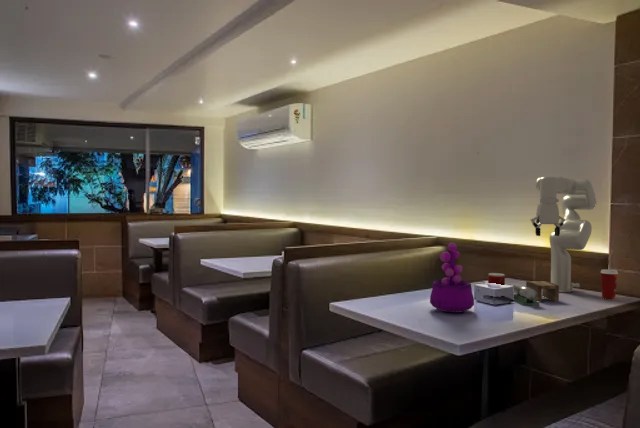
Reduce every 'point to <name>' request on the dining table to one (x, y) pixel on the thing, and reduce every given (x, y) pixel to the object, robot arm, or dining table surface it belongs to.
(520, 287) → the grey oblong lump
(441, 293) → the decorative plant
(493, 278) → the canned food
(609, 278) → the paper cup
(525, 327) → the dining table surface
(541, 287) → the wooden box
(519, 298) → the cradle
